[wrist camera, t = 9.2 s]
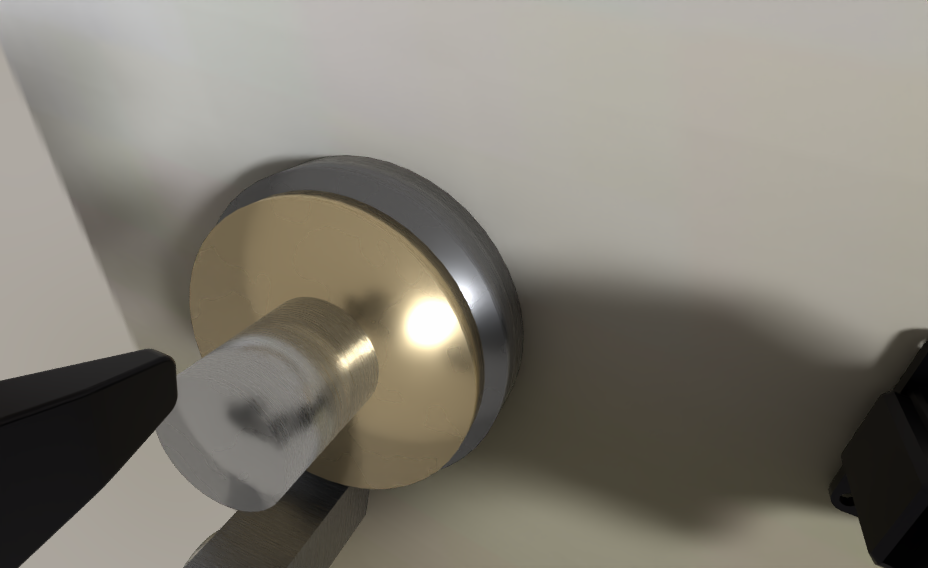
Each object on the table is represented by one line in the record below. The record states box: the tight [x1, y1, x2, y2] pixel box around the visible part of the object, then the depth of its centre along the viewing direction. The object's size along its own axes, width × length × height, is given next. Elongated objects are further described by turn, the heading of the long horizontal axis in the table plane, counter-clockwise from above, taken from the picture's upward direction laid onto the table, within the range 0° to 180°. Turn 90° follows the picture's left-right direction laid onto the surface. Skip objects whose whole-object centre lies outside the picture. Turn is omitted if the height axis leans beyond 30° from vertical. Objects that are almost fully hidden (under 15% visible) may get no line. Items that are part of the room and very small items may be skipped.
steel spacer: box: [156, 297, 379, 512], centre depth 18 cm, size 4×4×5 cm
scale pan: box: [190, 190, 485, 489], centre depth 21 cm, size 11×11×1 cm
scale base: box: [183, 156, 523, 568], centre depth 20 cm, size 12×17×9 cm
